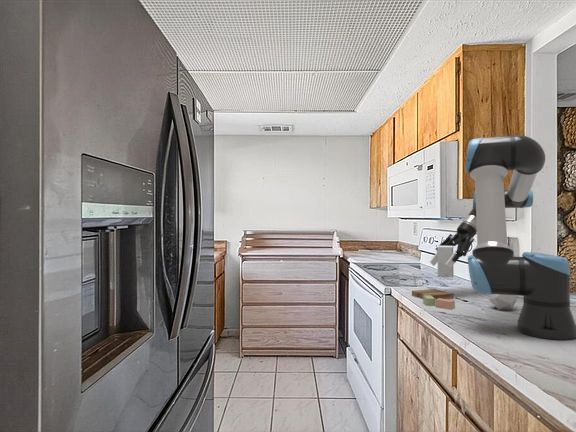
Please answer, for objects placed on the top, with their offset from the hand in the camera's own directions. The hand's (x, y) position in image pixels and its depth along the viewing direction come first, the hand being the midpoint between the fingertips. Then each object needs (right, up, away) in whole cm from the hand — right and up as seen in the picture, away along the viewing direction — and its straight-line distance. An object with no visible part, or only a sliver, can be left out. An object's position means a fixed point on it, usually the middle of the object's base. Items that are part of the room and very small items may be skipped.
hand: (439, 265), depth 174 cm
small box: (+3, -5, +1) cm, 6 cm away
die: (+14, -13, -25) cm, 32 cm away
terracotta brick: (-6, -14, -21) cm, 26 cm away
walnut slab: (-4, -13, -2) cm, 14 cm away
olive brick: (-10, -14, -15) cm, 23 cm away
